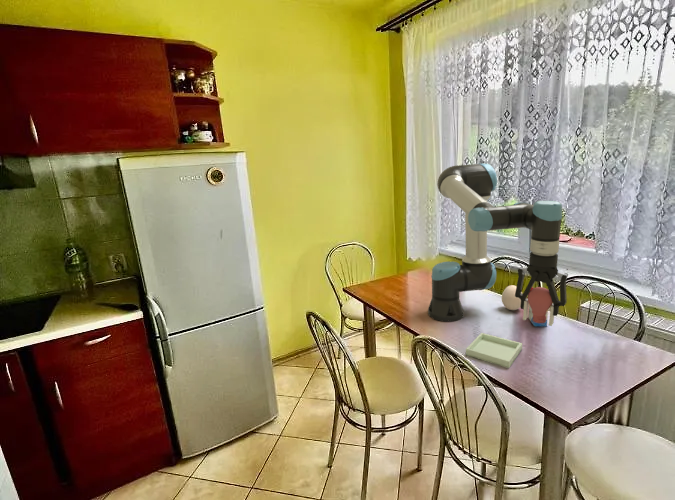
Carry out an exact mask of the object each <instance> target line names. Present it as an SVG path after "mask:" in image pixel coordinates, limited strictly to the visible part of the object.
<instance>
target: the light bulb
mask: <svg viewBox="0 0 675 500" xmlns="http://www.w3.org/2000/svg"><path fill="white" fill-rule="evenodd" d="M527 299H528V302H529V305H530V307H531V308H532V313H533V321H534V322H536V323H545V322H546V316H545V315H546V311H547V310H548V311H549V310H550V308H551V305H552V303H553V302H552V299H551V296H550V293H549V289H548V288H546V287H542V286H537V287H533V289H532V290H531V291H530V292H529V294H528V296H527Z"/></svg>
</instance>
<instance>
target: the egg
mask: <svg viewBox="0 0 675 500" xmlns="http://www.w3.org/2000/svg"><path fill="white" fill-rule="evenodd" d="M516 287H517V285H512V284H511V285H508V286H506V287H505V289H504V290H503V291H502V294H501V302H502V305H503V306H504V307H505V308H506V309H507V310H510V311H517V310H519V309H521V299H520V298H518V297H515V292H516ZM521 293H522V294H523V292H522V291H521Z"/></svg>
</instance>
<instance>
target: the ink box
mask: <svg viewBox="0 0 675 500" xmlns="http://www.w3.org/2000/svg"><path fill="white" fill-rule="evenodd" d="M533 288H534V287H533V286H532V288H531V290H532V289H533ZM531 290H530V291H531ZM548 312H549V309H548V310H547V311H546V315H545V316H546V322H545V323H536V322H534V321H533V313H532V308H531V307H530V305H529V307H528V317H527V319H529V321H530V322H531V324H532V325H533V326H534V327H547V326H548V315H549V313H548Z"/></svg>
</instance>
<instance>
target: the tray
mask: <svg viewBox="0 0 675 500" xmlns="http://www.w3.org/2000/svg"><path fill="white" fill-rule="evenodd" d="M522 350H523V343H522V342H519V341H514V340H513V339H512V340H511V339H508V338H504V337H499V336H495V335H492V334H488V333H484V332H480V333H479V335H477V337H476V338H474V340H473V341H472V342H471V343H470V344H469V345H468V346H467V347H466V348H465V356H467V357H470V358H474V359H478V360H480V361H484V362H487V363H491V364H492V365H495V366H499V367H503V368H506V369H510V367H511V366H512V365H513V363H514V362H515V360H516V359H517V357H518V356H519V355H520V353H521V352H522Z"/></svg>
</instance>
